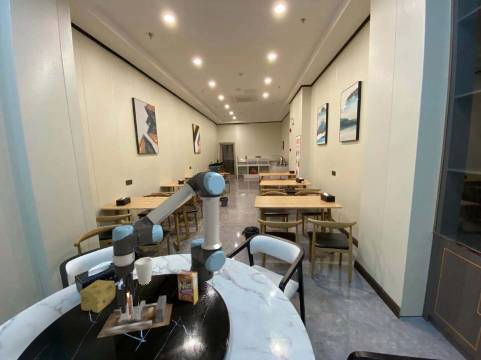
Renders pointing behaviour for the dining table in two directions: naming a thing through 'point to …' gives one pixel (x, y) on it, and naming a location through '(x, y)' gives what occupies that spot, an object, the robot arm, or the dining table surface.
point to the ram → (133, 313)
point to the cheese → (97, 295)
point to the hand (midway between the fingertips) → (127, 314)
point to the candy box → (188, 286)
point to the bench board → (158, 320)
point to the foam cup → (144, 270)
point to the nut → (151, 312)
